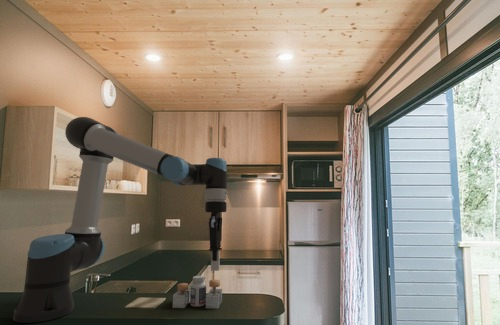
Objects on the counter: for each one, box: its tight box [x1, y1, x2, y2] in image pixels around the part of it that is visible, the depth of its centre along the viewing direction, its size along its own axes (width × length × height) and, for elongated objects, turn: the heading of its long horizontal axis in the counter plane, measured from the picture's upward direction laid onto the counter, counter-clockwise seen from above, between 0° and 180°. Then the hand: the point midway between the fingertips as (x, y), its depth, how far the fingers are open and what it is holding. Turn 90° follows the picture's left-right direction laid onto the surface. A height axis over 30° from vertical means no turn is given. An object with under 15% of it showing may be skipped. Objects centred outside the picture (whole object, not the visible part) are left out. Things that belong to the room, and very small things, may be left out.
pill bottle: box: [189, 275, 207, 308], centre depth 97 cm, size 5×5×9 cm
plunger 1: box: [176, 282, 189, 292], centre depth 97 cm, size 4×4×5 cm
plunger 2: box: [208, 279, 221, 293], centre depth 97 cm, size 4×4×5 cm
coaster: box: [124, 296, 167, 310], centre depth 98 cm, size 10×10×1 cm
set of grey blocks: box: [172, 287, 223, 310], centre depth 97 cm, size 15×8×4 cm, turn 86°
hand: (215, 270), depth 98 cm, fingers closed
